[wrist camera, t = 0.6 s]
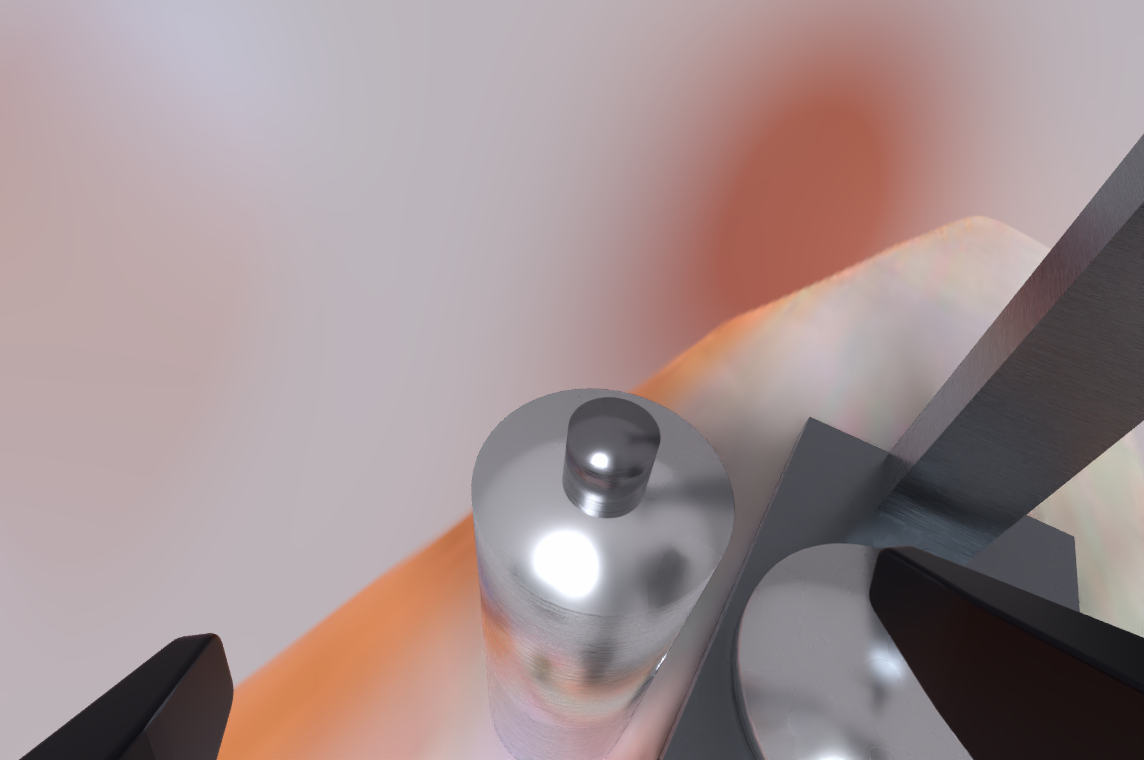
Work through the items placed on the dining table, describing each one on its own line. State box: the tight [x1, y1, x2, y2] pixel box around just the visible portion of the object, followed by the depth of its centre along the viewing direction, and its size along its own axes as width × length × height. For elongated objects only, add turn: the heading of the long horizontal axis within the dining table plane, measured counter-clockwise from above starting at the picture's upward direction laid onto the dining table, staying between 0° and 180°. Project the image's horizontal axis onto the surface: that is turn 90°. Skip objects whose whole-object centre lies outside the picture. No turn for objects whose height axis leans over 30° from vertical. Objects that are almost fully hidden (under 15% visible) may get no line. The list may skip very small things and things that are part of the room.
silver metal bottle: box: [472, 388, 735, 760], centre depth 14 cm, size 5×5×14 cm
